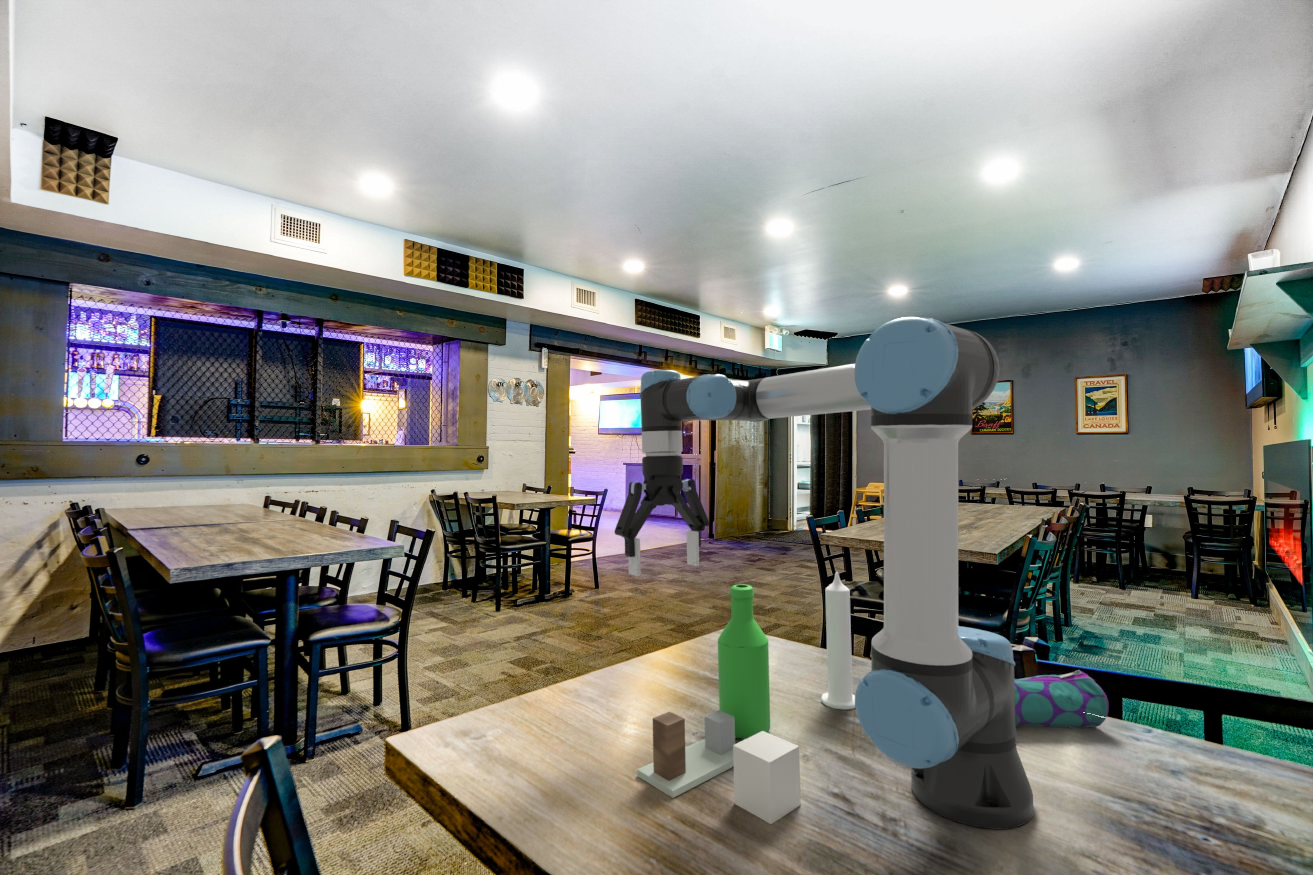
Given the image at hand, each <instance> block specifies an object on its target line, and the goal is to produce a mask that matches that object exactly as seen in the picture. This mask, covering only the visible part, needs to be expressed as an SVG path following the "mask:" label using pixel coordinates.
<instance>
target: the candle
mask: <svg viewBox="0 0 1313 875" xmlns="http://www.w3.org/2000/svg"><path fill="white" fill-rule="evenodd" d="M824 590H825V595H824V596H825V623H826V624H825V627H826V631H825V632H826V654H827V655H826V657H827V659H826V660H827V661H826V663H827V664H826V665H827V669H826V670H827V692H824V693H823V694H821V696H820V697H821V702H822V703H823V704H824V705H825V706H826V707H829V708H831V709H835V710H836V709H837V710H842V711H843V710H847V711H848V710H853V709H856V708H855V694H853V666H852V665H853V663H852V658H853V657H852V634H851V633H852V632H851V631H852V630H851V626H852V625H851V597H850V596H851V595H850V593H851V592H850V588H849V587H847V586H846V585H845V584H843V583H842V580H841V578H840V573H839V571H836V572H835V573H834V578H833V581H832V583H830V584H829V585H828V586H827V587H825V589H824Z"/></svg>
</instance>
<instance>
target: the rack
mask: <svg viewBox="0 0 1313 875" xmlns="http://www.w3.org/2000/svg"><path fill="white" fill-rule="evenodd" d="M737 743H738V742H737ZM737 743H736V737H735V717H734V716H732V715H729V714H727V713H724V712H722V711H720V710H719V709H718V710H717V711H715V712H711V713H709V714H706V715H705V716H704V738H703V739H700V740H699V741H697V742H694V743H691V744H690V745H687V746H685V759H686V773H684V774H682V775H680V776H678V777H676V778H674V779H672V780H670V781H668V780H666V779H664V778H663V777H661V776H659V775H658V774H656V773H654V764H653V761H652V762H650V763H648V764H646V765H644V766H642V767H640V768H637V769H636V772H637V774H636V775H637V777H638V778H639V779H641V780H643V781H644V782H647V783H648V785H649V784H650V785H652V786H653V787H655V788H656V789H658V790H659V791H661V792H662V793H665V794H666V795H667V796H669V797H670V798H671V799H674V798H676V797H678V796H680V795H681V794H684V793H685V792H688V791H689V790H691V789H693V788H695V787H697V786H699V785H701V784H703V783H704V782H707V781H708V780H710V779H712V778H714V777H716V776H719V775H720V774H723V773H724V772H726V771H727V770H730V769H732V768H734V764H733V745H735V744H737Z"/></svg>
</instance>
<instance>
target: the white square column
mask: <svg viewBox="0 0 1313 875" xmlns="http://www.w3.org/2000/svg"><path fill="white" fill-rule="evenodd" d="M733 764H734V766H733V793H734V794H733V796H734V797H733V798H734V799H733V800H734V805H736V806H738V807H739V808H741V809H743V810H745V811H747V812H748V813H750V814H752V815H754V816H755V817H757V818H760V819H761V820H762V821H765V822H766V823H768V824H769V825H772V824H774V823H775V822H777V821H778V820H780V819H782V818H783V817H785V816H786V815H787V814H790V813H791V812H793V811H794V810H795V809H797V808H798V807H800V806H802V805H801V804H802V802H801V773H800V770H801V769H800V768H801V767H800V766H801V764H800V746H799V745H797V744H795V743H792V742H791V741H788V740H785V739H783V738H781V737H778V736H776V735H774V734H771V733H769V732H768V731H767V732H764V731H761V732H759V733H757V734H755V735H753V736H751V737H749V738H747V739H742V740H741V741H739V742H737V744H735V745H733Z"/></svg>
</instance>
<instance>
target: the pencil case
mask: <svg viewBox="0 0 1313 875" xmlns="http://www.w3.org/2000/svg"><path fill="white" fill-rule="evenodd" d="M1014 683H1015V719H1016V727H1017V726H1029V727H1030V726H1032V727H1034V726H1037V727H1038V726H1040V727H1052V728H1053V727H1054V728H1096V727H1099V726H1102V724H1103V723H1104V722H1105V721H1106V718H1107V717H1108V715H1109V707H1110V705H1109V703H1110V702H1109V698H1108V697H1107V695H1106V692H1104V690H1103V689H1102V687H1101V686H1100V685H1099V684H1098V683H1096V680H1095V679H1093V678H1092V677H1090V676H1089V674H1088V673H1085V672H1084V671H1081V670H1080V669H1078V670H1074V671H1072V672H1069V673H1065V674H1058V675H1057V674H1049V675H1048V674H1043V675H1033V676H1030V677H1024V678H1014ZM1083 712H1085V713H1083ZM1087 713H1091V714H1087ZM1092 714H1095V715H1099V716H1104V717H1106V718H1101V717H1098V716H1095V715H1092Z"/></svg>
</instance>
